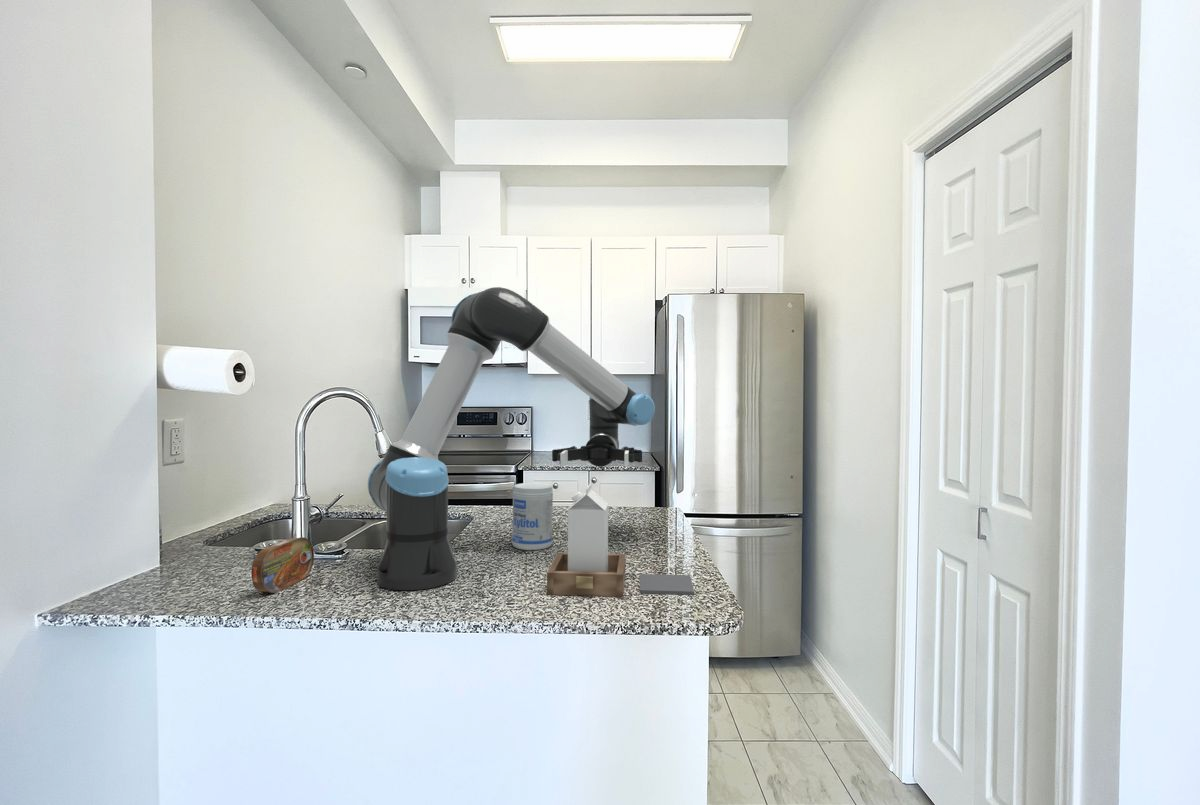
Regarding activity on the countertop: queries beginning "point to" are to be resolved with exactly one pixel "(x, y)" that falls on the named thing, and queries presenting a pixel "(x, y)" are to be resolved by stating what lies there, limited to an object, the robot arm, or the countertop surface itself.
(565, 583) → the wooden square frame
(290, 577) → the tin
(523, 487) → the supplement tub
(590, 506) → the milk carton
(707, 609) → the countertop surface
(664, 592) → the rubber mat
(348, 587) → the countertop surface
